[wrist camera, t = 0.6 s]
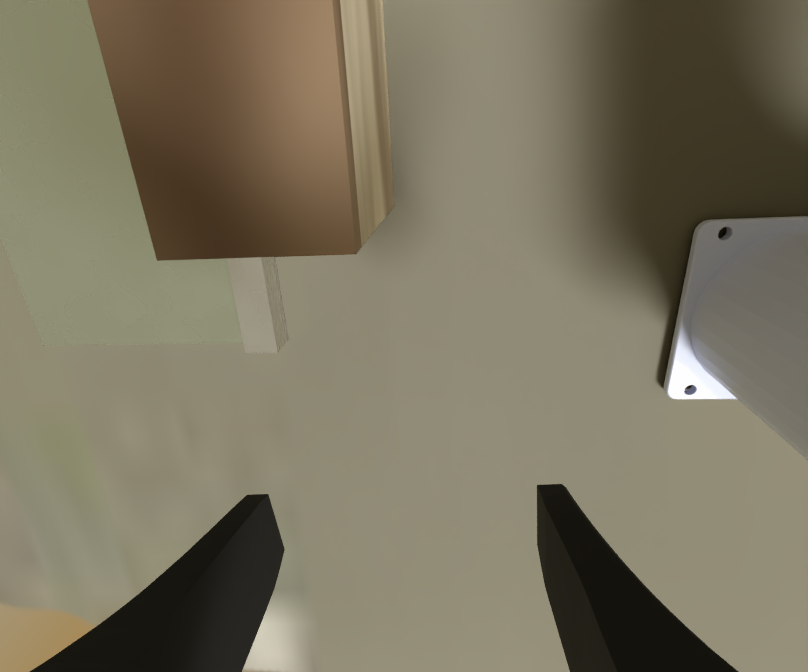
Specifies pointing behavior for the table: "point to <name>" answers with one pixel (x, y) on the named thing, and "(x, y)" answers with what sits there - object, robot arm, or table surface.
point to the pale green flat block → (100, 207)
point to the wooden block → (252, 122)
